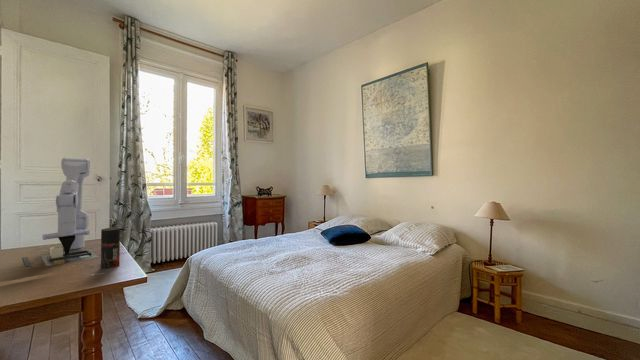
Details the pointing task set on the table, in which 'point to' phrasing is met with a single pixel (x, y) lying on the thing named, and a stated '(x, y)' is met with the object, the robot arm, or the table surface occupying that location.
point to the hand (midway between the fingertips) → (66, 253)
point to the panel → (69, 257)
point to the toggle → (56, 252)
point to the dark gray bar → (26, 261)
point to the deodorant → (110, 248)
